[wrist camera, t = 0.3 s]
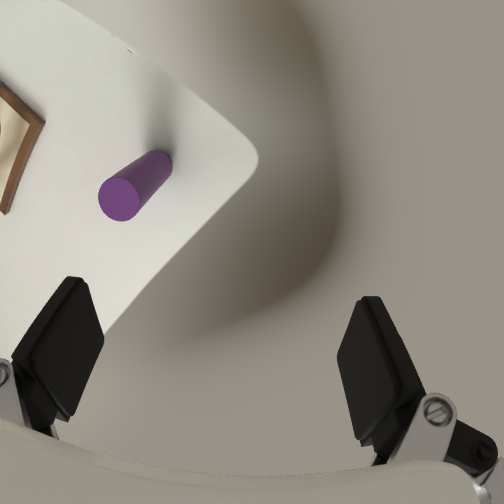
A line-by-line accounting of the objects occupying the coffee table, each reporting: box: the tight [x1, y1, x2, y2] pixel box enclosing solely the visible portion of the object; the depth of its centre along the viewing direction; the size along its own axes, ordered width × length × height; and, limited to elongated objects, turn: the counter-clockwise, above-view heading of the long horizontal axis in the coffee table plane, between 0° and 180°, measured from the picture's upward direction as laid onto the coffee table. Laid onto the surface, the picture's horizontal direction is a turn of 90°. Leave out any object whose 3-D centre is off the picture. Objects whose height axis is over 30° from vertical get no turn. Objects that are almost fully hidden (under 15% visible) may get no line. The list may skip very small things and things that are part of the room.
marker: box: [98, 150, 172, 221], centre depth 23 cm, size 3×3×10 cm
